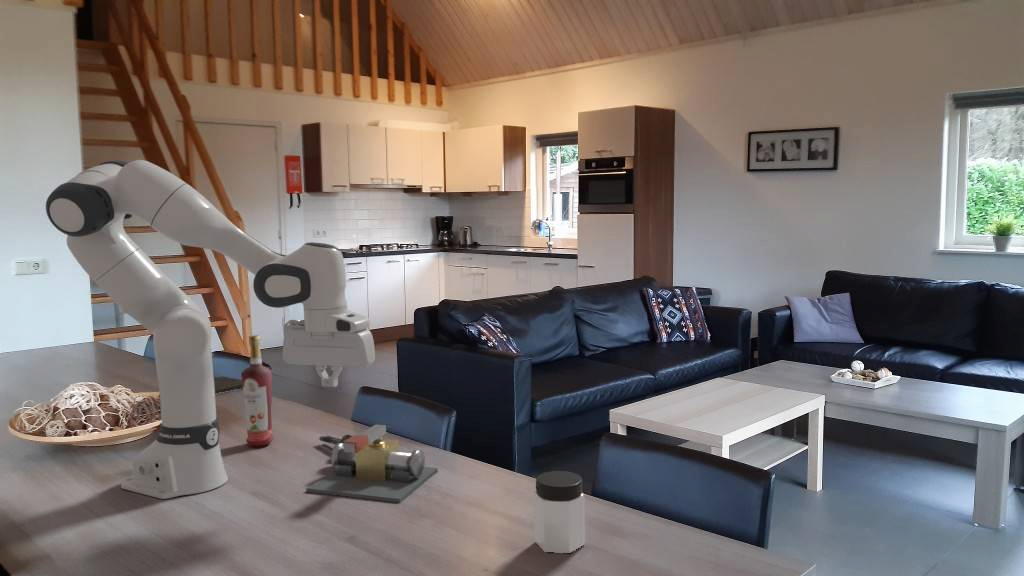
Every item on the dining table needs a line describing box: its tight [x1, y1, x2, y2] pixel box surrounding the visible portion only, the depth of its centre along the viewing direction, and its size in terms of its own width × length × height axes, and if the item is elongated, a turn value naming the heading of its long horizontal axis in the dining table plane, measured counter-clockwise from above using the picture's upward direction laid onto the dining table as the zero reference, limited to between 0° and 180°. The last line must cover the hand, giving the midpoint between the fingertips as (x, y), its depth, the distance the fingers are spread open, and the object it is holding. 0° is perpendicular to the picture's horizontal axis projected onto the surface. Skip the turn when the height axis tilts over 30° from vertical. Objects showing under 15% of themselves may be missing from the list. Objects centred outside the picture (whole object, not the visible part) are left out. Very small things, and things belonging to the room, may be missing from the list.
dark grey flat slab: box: [214, 376, 243, 393], centre depth 256 cm, size 16×23×2 cm
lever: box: [343, 424, 387, 453], centre depth 166 cm, size 14×3×3 cm, turn 162°
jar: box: [533, 470, 586, 554], centre depth 137 cm, size 9×8×12 cm
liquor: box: [240, 334, 275, 448], centre depth 196 cm, size 7×7×28 cm
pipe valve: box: [330, 438, 426, 483], centre depth 171 cm, size 20×7×8 cm, turn 72°
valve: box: [318, 434, 353, 446], centre depth 189 cm, size 6×26×15 cm
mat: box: [305, 466, 439, 503], centre depth 170 cm, size 22×19×1 cm
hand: (330, 385), depth 162 cm, fingers closed
